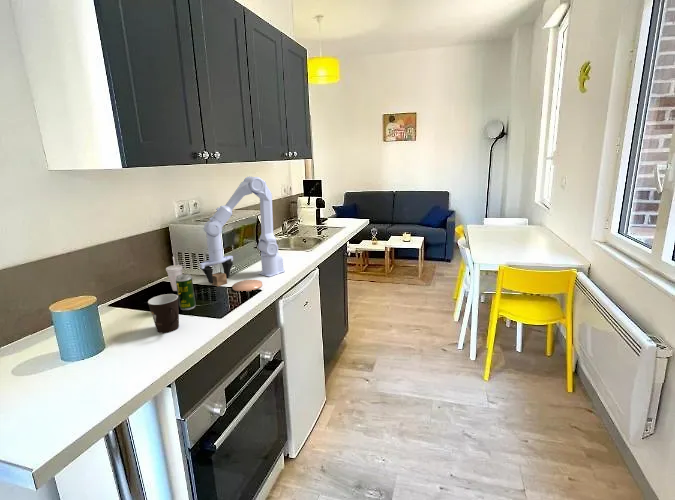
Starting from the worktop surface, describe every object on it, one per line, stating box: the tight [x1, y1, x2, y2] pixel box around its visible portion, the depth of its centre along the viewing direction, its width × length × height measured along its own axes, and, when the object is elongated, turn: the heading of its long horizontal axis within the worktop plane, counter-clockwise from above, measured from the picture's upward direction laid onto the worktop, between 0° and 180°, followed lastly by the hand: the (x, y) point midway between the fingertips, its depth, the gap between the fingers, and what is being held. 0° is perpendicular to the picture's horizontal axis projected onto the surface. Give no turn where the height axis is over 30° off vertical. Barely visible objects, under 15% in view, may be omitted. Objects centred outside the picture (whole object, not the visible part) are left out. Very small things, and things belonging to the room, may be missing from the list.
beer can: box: [176, 273, 197, 311], centre depth 130 cm, size 5×5×12 cm
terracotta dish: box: [231, 279, 263, 293], centre depth 150 cm, size 12×12×1 cm
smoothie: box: [165, 256, 184, 292], centre depth 149 cm, size 6×6×14 cm
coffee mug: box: [147, 293, 180, 334], centre depth 113 cm, size 12×9×10 cm
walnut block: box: [211, 271, 228, 288], centre depth 154 cm, size 4×4×4 cm
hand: (219, 280), depth 154 cm, fingers open, 7 cm apart
